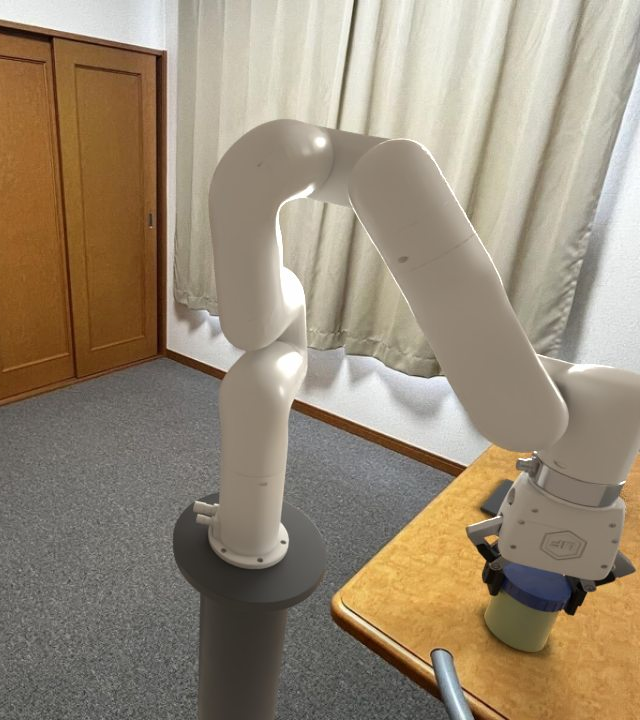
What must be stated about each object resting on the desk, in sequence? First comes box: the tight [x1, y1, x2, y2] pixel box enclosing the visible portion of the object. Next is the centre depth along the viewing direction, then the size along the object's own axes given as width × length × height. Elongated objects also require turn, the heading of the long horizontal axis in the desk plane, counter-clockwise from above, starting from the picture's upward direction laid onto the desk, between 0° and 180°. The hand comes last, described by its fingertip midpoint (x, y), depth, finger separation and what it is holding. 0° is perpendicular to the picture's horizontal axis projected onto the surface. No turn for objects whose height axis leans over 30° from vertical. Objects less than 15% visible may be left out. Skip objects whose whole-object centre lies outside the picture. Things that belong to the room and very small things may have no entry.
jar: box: [483, 587, 561, 653], centre depth 59 cm, size 6×6×9 cm
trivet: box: [480, 478, 515, 518], centre depth 80 cm, size 12×12×1 cm
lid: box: [501, 562, 572, 612], centre depth 57 cm, size 7×7×2 cm
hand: (527, 595), depth 58 cm, fingers closed on lid, 7 cm apart
